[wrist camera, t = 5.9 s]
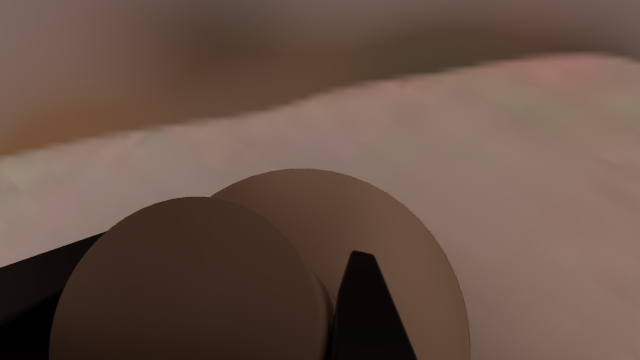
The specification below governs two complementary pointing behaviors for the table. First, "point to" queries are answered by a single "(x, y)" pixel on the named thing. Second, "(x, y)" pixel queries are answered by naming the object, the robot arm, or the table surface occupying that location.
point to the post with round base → (254, 275)
